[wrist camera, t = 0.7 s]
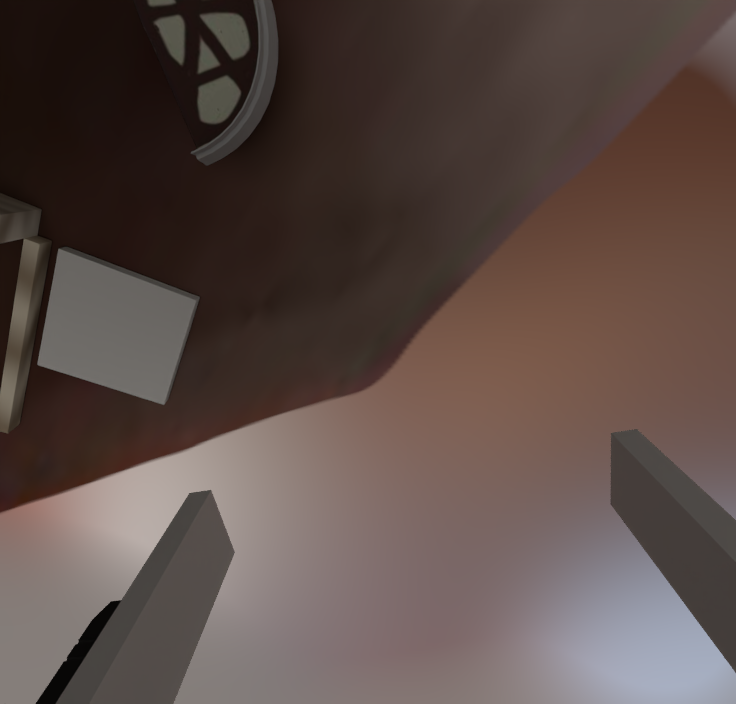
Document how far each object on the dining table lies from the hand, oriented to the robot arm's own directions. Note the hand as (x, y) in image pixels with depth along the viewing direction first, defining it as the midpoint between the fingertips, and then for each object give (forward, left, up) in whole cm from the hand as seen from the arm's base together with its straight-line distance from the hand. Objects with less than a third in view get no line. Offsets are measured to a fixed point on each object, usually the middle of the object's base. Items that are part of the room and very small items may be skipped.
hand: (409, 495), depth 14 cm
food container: (-12, -14, -23) cm, 30 cm away
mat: (+10, -17, -23) cm, 30 cm away
